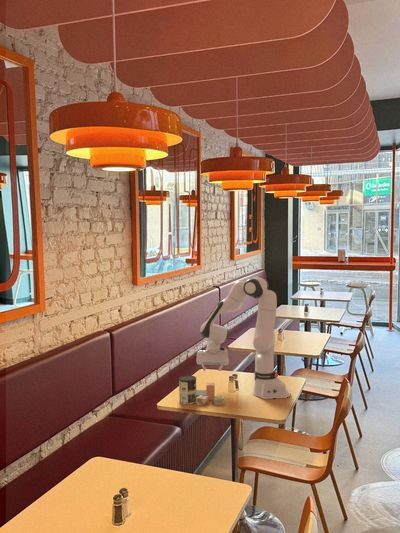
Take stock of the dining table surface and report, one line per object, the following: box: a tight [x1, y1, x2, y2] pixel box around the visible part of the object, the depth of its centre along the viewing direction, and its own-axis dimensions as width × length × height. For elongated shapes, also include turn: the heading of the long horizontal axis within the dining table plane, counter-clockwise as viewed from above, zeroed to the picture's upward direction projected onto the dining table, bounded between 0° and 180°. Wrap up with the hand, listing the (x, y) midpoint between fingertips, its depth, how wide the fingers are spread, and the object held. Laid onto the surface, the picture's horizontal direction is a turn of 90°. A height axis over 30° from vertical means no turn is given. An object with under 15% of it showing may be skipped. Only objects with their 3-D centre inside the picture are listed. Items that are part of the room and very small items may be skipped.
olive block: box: [212, 395, 224, 406], centre depth 286 cm, size 5×5×4 cm
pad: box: [196, 389, 206, 397], centre depth 302 cm, size 9×9×1 cm
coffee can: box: [178, 374, 197, 405], centre depth 290 cm, size 10×10×14 cm
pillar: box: [205, 382, 216, 401], centre depth 293 cm, size 4×4×9 cm
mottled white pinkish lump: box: [196, 395, 209, 406], centre depth 286 cm, size 5×5×4 cm
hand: (211, 370), depth 303 cm, fingers open, 8 cm apart
